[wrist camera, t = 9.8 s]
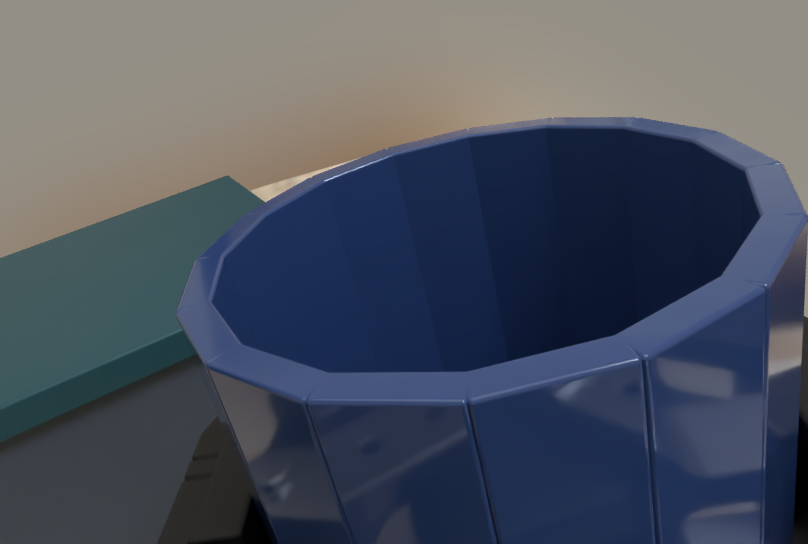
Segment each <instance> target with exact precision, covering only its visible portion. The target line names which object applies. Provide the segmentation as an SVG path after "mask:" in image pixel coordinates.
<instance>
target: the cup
mask: <svg viewBox="0 0 808 544" xmlns="http://www.w3.org/2000/svg"><path fill="white" fill-rule="evenodd" d="M807 236H808V215H807V213H806V211H805V209H804V207H803V205H802V203H801V201H800V198H799V196H798V194H797V192H796V190H795V188H794V186H793V184H792V182H791V180H790V178H789V175H788V174H787V171H786V169H785V167H784V165H782V164H781V163H780V162H779V161H777V160H775V159H773V158H771V157H769V156H767V155H765V154H763V153H761V152H759V151H757V150H755V149H753V148H751V147H749V146H747V145H745V144H743V143H741V142H739V141H737V140H735V139H733V138H731V137H729V136H727V135H725V134H723V133H721V132H717V131H714V130H708V129H702V128H697V127H690V126H685V125H679V124H673V123H667V122H662V121H656V120H650V119H644V118H635V117H632V118H631V117H629V118H627V117H625V118H623V117H622V118H621V117H619V118H618V117H617V118H616V117H613V118H611V117H608V118H602V117H600V118H553V119H552V118H545V119H537V120H530V121H522V122H514V123H506V124H499V125H490V126H483V127H475V128H470V129H463V130H460V131H455V132H451V133H447V134H443V135H439V136H435V137H431V138H427V139H423V140H419V141H414V142H410V143H407V144H402V145H399V146H394V147H390V148H388V149H384V150H381V151H378V152H376V153H373V154H370V155H368V156H365V157H362V158H360V159H357V160H354V161H352V162H349V163H346V164H344V165H341V166H339V167H336V168H333V169H331V170H328V171H325V172H323V173H320V174H317V175H315V176H313V177H312V178H308V179H306V180H305V181H303V182H301V183H299V184H298V185H296V186H294V187H292V188H290V189H289V190H287V191H285V192H283V193H282V194H280V195H278V196H276V197H274V198H273V199H271V200H269V201H267V202H266V203H264V204H262V205H260V206H259V207H257V208H255V209H253V210H251V211H250V212H248V213H246V214H245V215H243V216H242V217H241V218H240V219H239V220H238V221H237V222H236V223H234V224H233V225H232V226H231V227H230V228H229V229H228V230H227V231H226V232H225V233H224V234H223V235H222V236H220V237H219V238H218V239H217V240H216V241H215V242H214V243H213V244H212V245H211V246H210V247H209V248H208V249H206V250H205V251H204V252H203V253H202V254H201V255H200V256H199V257H198V258H197V259H196V261H195V262H194V264H193V266H192V269H191V272H190V274H189V277H188V280H187V283H186V285H185V288H184V291H183V293H182V296H181V299H180V302H179V304H178V307H177V310H176V318H177V321H178V323H179V325H180V328H181V330H182V333H183V335H184V337H185V340H186V342H187V344H188V347H189V349H190V351H191V354H192V356H193V358H194V361H195V363H196V366H197V368H198V370H199V373H200V375H201V377H202V380H203V382H204V384H205V387H206V389H207V391H208V394H209V396H210V399H211V401H212V403H213V406H214V408H215V410H216V413H217V415H218V417H219V420H220V422H221V424H222V427H223V429H224V432H225V434H226V436H227V439H228V441H229V443H230V446H231V448H232V450H233V453H234V455H235V457H236V460H237V462H238V465H239V467H240V469H241V472H242V474H243V476H244V479H245V481H246V483H247V486H248V488H249V491H250V493H251V495H252V498H253V500H254V502H255V505H256V507H257V509H258V512H259V514H260V516H261V519H262V521H263V524H264V526H265V528H266V531H267V533H268V535H269V538H270V540H271V542H272V544H793V528H794V507H795V486H796V465H797V445H798V424H799V403H800V382H801V361H802V340H803V320H804V299H805V277H806V257H807Z"/></svg>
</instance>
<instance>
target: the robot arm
mask: <svg viewBox="0 0 808 544" xmlns="http://www.w3.org/2000/svg"><path fill="white" fill-rule="evenodd" d="M192 459H193V461H192V462H190V463H189V466H188V468H187V471H186V473H185V476H184V478H185V481H184V482H182V483H181V486H180V488H179V491H178V493H177V496H176V498H175V501H174V503H173V505H172V508H171V510H170V513H169V515H168V518H167V520H166V523H165V525H164V528H163V530H162V533H161V535H160V538H159V540H158V543H157V544H272V542H271V540H270V538H269V535H268V533H267V531H266V528H265V526H264V524H263V521H262V519H261V516H260V514H259V512H258V509H257V507H256V505H255V502H254V500H253V498H252V495H251V493H250V491H249V488H248V486H247V483H246V481H245V479H244V476H243V474H242V472H241V469H240V467H239V465H238V462H237V460H236V457H235V455H234V453H233V450H232V448H231V446H230V443H229V441H228V439H227V436H226V434H225V432H224V429H223V427H222V424H221V422H220V420H219V417H218V416H217V417H216V418H215V419H214V420H213V421H212V422H211V424H210V425H209V426H208V427H207V428H206V429H205V430H204V431H203V433H202V434H201V436H200V439H199V441H198V444H197V446H196V449H195V451H194V454H193V456H192ZM793 544H808V318H807V317H805V316H804V320H803V340H802V361H801V382H800V403H799V424H798V445H797V465H796V486H795V507H794V528H793Z"/></svg>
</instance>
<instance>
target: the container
mask: <svg viewBox="0 0 808 544" xmlns="http://www.w3.org/2000/svg"><path fill="white" fill-rule="evenodd" d="M264 203H265V202H264V201H263V200H261V199H260V198H258V197H257V196H256V195H254V194H253V193H252V192H250V191H249V190H247V189H246V188H245V187H243V186H242V185H240V184H239V183H238V182H236V181H235V180H233V179H232V178H231V177H229V176H225V177H222V178H219V179H217V180H214V181H211V182H208V183H206V184H203V185H200V186H198V187H195V188H192V189H189V190H186V191H184V192H181V193H178V194H176V195H173V196H170V197H167V198H164V199H162V200H159V201H156V202H154V203H151V204H148V205H145V206H142V207H140V208H137V209H134V210H131V211H129V212H126V213H123V214H120V215H118V216H115V217H112V218H109V219H107V220H104V221H101V222H98V223H96V224H93V225H90V226H87V227H85V228H82V229H79V230H77V231H74V232H71V233H68V234H66V235H63V236H60V237H57V238H54V239H52V240H49V241H46V242H44V243H41V244H38V245H35V246H32V247H30V248H27V249H24V250H22V251H19V252H16V253H13V254H11V255H8V256H5V257H2V258H0V544H157V543H158V540H159V538H160V535H161V533H162V530H163V528H164V525H165V523H166V520H167V518H168V515H169V513H170V510H171V508H172V505H173V503H174V501H175V498H176V496H177V493H178V491H179V488H180V486H181V483H182V482H184V481H185V478H184V476H185V473H186V471H187V468H188V466H189V463H190V462H192V461H193V459H192V456H193V454H194V451H195V449H196V446H197V444H198V441H199V439H200V436H201V434H202V433H203V431H204V430H205V429H206V428H207V427H208V426H209V425H210V424H211V422H212V421H213V420H214V419H215V418H216V417H217V416H218V415H217V413H216V410H215V408H214V406H213V403H212V401H211V399H210V396H209V394H208V391H207V389H206V387H205V384H204V382H203V380H202V377H201V375H200V373H199V370H198V368H197V366H196V363H195V361H194V358H193V356H192V354H191V351H190V349H189V347H188V344H187V342H186V340H185V337H184V335H183V333H182V330H181V328H180V325H179V323H178V321H177V318H176V310H177V307H178V304H179V302H180V299H181V296H182V293H183V291H184V288H185V285H186V283H187V280H188V277H189V274H190V272H191V269H192V266H193V264H194V262H195V261H196V259H197V258H198V257H199V256H200V255H201V254H202V253H203V252H204V251H205V250H206V249H208V248H209V247H210V246H211V245H212V244H213V243H214V242H215V241H216V240H217V239H218V238H219V237H220V236H222V235H223V234H224V233H225V232H226V231H227V230H228V229H229V228H230V227H231V226H232V225H233V224H234V223H236V222H237V221H238V220H239V219H240V218H241V217H242V216H243V215H245V214H246V213H248V212H250V211H251V210H253V209H255V208H257V207H259V206H260V205H262V204H264Z"/></svg>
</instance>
